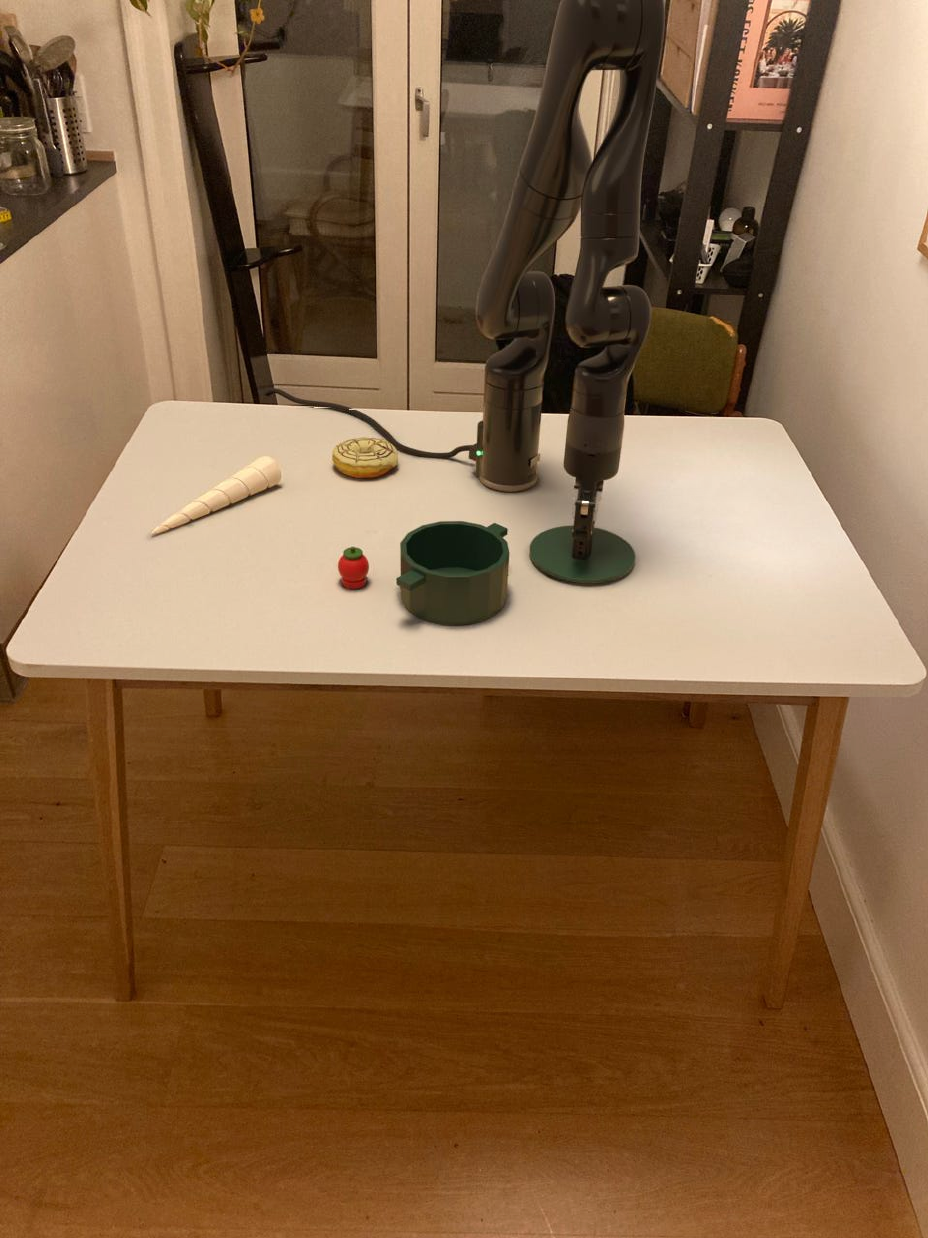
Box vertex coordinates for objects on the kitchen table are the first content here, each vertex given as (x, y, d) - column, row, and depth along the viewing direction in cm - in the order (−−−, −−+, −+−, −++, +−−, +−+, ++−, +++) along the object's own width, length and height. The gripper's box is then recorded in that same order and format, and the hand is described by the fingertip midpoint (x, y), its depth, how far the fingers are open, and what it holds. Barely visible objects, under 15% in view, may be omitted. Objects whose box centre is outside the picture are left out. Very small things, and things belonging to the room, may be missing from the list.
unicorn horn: (136, 528, 145) (131, 499, 142) (265, 477, 160) (263, 450, 157) (154, 539, 143) (149, 510, 140) (284, 487, 157) (282, 460, 155)
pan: (364, 604, 131) (363, 556, 126) (460, 549, 143) (462, 503, 139) (444, 648, 123) (445, 598, 119) (538, 585, 136) (542, 539, 131)
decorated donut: (409, 472, 163) (409, 451, 161) (352, 487, 158) (352, 466, 156) (378, 448, 170) (377, 428, 168) (322, 462, 165) (321, 441, 163)
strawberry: (332, 582, 135) (330, 547, 132) (354, 571, 137) (353, 536, 134) (353, 594, 133) (352, 559, 129) (375, 582, 135) (375, 547, 132)
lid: (507, 559, 141) (510, 521, 138) (569, 521, 151) (573, 485, 147) (595, 599, 133) (600, 561, 130) (654, 556, 143) (660, 520, 139)
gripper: (571, 414, 138) (561, 517, 147) (560, 458, 126) (550, 567, 136) (625, 420, 137) (611, 523, 146) (619, 464, 125) (604, 574, 135)
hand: (582, 544), depth 141 cm, fingers open, 7 cm apart
